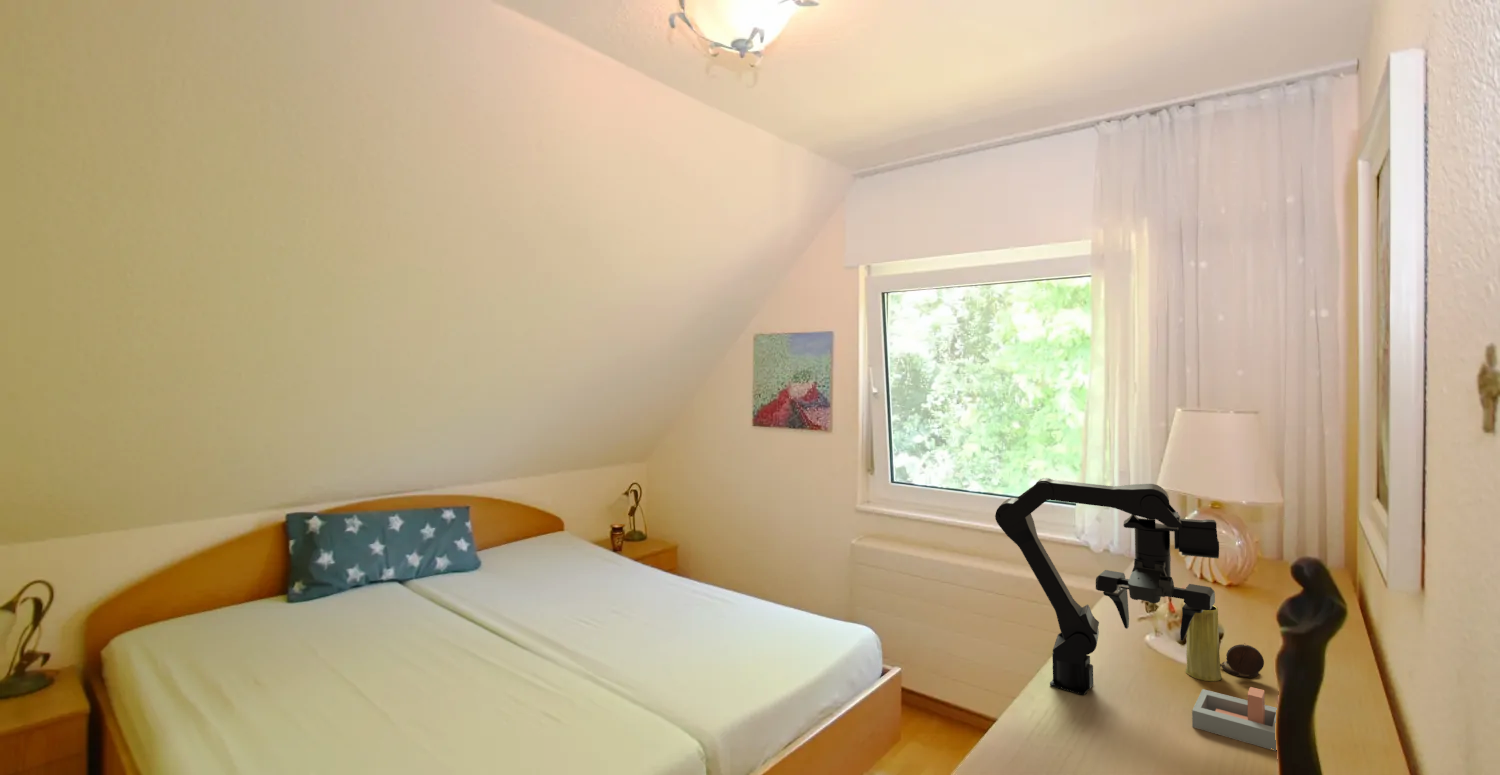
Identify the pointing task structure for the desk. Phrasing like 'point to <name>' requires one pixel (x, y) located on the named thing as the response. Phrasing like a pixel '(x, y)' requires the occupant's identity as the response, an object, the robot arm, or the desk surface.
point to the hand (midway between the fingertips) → (1153, 633)
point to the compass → (1243, 661)
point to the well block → (1233, 719)
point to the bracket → (1252, 706)
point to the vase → (1204, 646)
